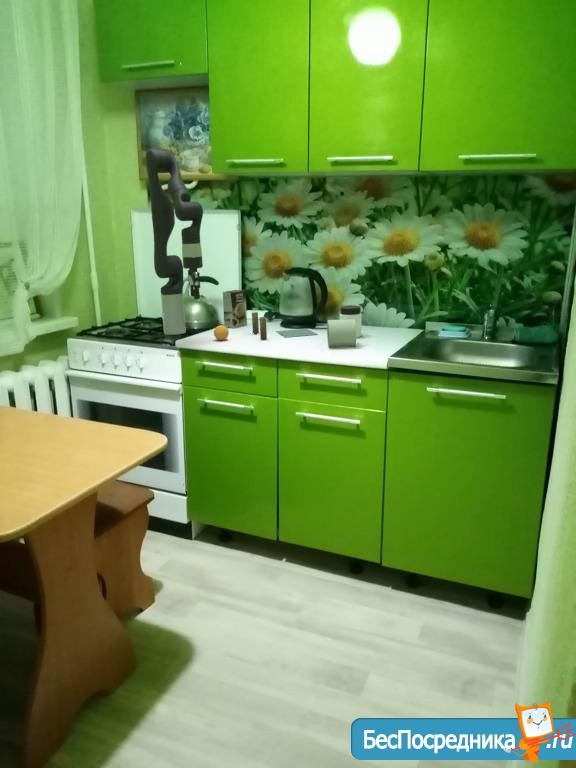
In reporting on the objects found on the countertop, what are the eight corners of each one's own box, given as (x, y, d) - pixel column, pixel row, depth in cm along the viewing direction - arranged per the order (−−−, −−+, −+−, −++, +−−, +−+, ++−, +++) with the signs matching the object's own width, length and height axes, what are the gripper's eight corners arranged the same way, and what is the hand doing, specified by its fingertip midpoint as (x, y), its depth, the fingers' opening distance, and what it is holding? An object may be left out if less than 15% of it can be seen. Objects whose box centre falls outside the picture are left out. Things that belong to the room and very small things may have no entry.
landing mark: (285, 337, 242) (285, 337, 242) (275, 331, 255) (275, 331, 255) (317, 334, 246) (317, 334, 246) (306, 328, 259) (306, 328, 259)
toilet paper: (353, 342, 229) (353, 317, 226) (356, 348, 219) (356, 321, 217) (327, 343, 229) (327, 318, 226) (329, 349, 219) (328, 322, 217)
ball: (215, 342, 238) (214, 327, 237) (213, 339, 244) (212, 324, 242) (230, 340, 240) (229, 326, 238) (227, 338, 245) (226, 323, 244)
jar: (342, 339, 236) (341, 309, 233) (337, 335, 244) (337, 306, 241) (363, 337, 237) (364, 307, 234) (358, 333, 245) (358, 304, 242)
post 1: (253, 334, 251) (252, 313, 248) (252, 333, 253) (251, 312, 251) (259, 334, 251) (258, 312, 249) (258, 332, 254) (257, 312, 251)
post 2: (261, 340, 239) (260, 318, 236) (259, 339, 241) (258, 317, 239) (267, 339, 239) (266, 317, 237) (266, 338, 242) (265, 316, 239)
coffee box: (234, 328, 266) (232, 292, 261) (223, 327, 269) (221, 291, 265) (247, 325, 273) (246, 289, 268) (237, 324, 276) (235, 289, 272)
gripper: (180, 254, 235) (183, 296, 240) (185, 257, 222) (188, 300, 227) (198, 254, 237) (201, 294, 242) (204, 256, 224) (207, 299, 229)
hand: (195, 297), depth 234 cm, fingers open, 8 cm apart
